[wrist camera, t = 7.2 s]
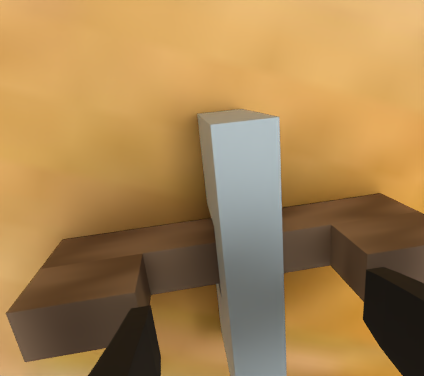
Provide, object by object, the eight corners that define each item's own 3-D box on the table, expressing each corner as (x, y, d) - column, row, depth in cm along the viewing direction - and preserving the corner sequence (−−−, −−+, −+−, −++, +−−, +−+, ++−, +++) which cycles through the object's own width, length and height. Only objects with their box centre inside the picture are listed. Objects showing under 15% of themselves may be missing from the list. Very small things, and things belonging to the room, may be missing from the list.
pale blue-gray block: (255, 325, 17) (287, 414, 12) (221, 331, 17) (240, 423, 12) (241, 109, 13) (279, 116, 9) (197, 113, 13) (210, 125, 8)
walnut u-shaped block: (380, 193, 15) (472, 237, 11) (378, 228, 16) (463, 284, 11) (62, 239, 14) (6, 313, 9) (72, 276, 15) (24, 362, 10)
